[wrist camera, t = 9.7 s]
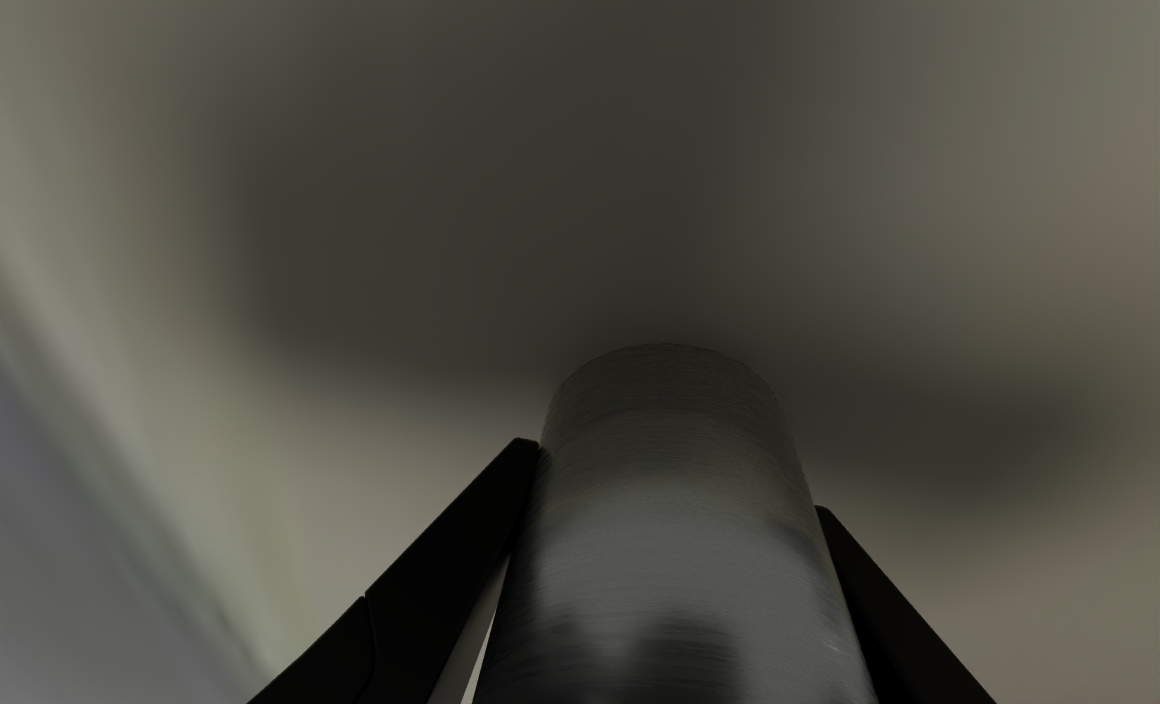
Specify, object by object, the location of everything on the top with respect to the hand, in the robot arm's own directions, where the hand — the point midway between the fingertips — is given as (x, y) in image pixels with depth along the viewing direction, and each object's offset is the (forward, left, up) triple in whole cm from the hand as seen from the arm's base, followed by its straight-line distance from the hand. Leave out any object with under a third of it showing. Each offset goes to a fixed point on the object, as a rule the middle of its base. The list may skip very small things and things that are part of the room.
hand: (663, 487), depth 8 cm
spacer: (0, 0, -1) cm, 1 cm away
